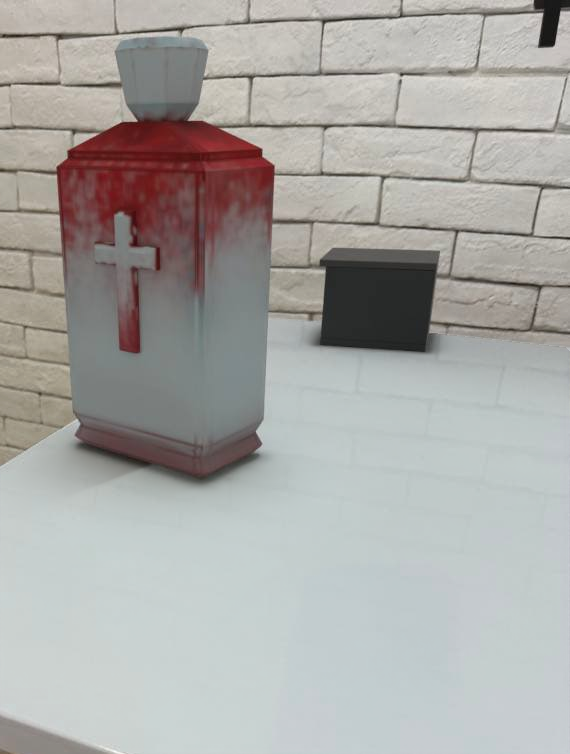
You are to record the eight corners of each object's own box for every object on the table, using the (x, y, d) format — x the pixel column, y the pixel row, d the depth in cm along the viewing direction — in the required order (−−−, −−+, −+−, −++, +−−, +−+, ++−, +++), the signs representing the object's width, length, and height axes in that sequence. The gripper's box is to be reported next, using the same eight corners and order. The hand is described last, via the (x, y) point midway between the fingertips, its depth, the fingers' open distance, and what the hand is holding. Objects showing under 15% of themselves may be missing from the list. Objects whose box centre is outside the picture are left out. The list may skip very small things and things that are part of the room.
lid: (319, 266, 98) (319, 259, 97) (332, 253, 107) (332, 247, 106) (436, 270, 94) (436, 263, 94) (439, 257, 103) (440, 250, 102)
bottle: (64, 448, 71) (34, 42, 57) (142, 417, 78) (132, 49, 64) (197, 489, 62) (199, 25, 49) (271, 451, 69) (291, 36, 56)
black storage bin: (319, 344, 102) (325, 266, 98) (332, 326, 111) (338, 254, 106) (425, 351, 98) (435, 271, 94) (429, 332, 107) (439, 257, 103)
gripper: (663, -244, 78) (608, 46, 88) (516, -223, 81) (480, 52, 92) (681, -276, 71) (619, 40, 82) (520, -252, 75) (481, 47, 86)
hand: (546, 46), depth 87 cm, fingers closed
